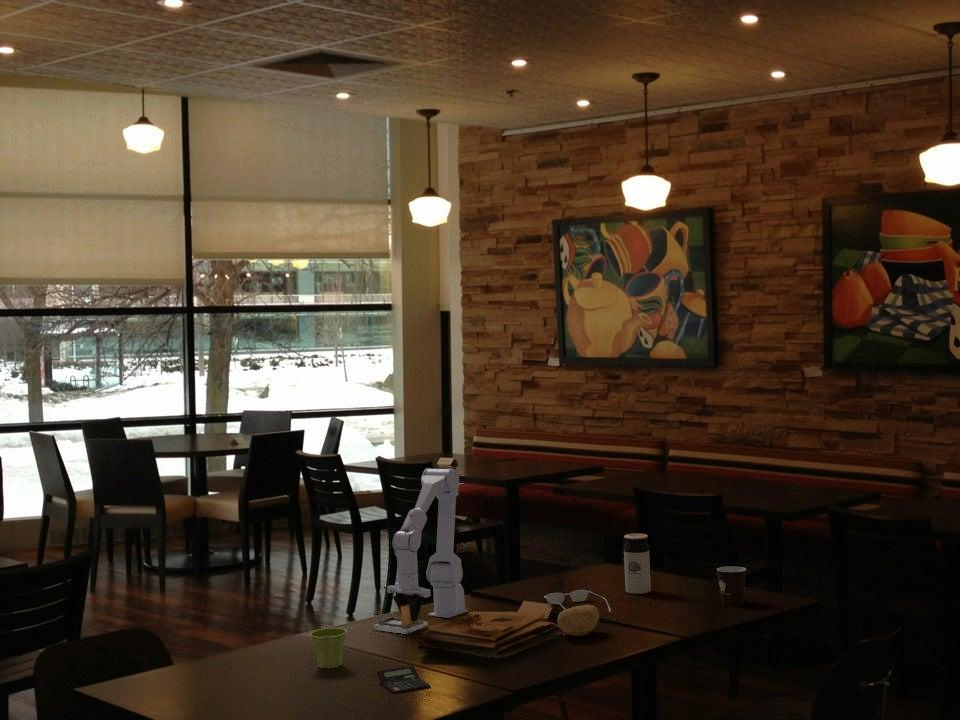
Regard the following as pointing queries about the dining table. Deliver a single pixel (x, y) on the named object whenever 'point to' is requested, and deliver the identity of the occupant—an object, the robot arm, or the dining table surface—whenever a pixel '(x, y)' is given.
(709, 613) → the dining table surface
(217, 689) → the dining table surface
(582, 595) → the eyeglasses
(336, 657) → the plant pot
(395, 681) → the calculator
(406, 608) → the tan upright block
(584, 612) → the potato
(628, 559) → the travel mug
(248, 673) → the dining table surface
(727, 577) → the coffee mug
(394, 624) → the console plate
